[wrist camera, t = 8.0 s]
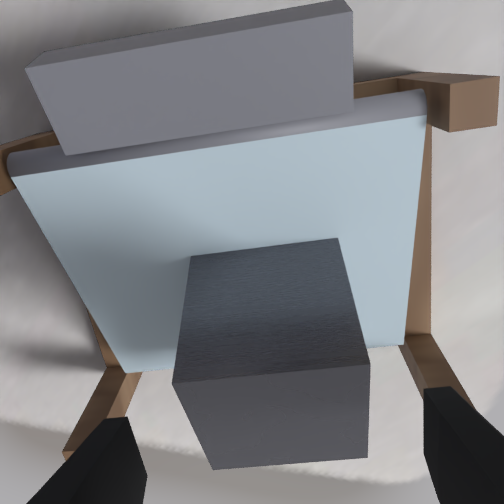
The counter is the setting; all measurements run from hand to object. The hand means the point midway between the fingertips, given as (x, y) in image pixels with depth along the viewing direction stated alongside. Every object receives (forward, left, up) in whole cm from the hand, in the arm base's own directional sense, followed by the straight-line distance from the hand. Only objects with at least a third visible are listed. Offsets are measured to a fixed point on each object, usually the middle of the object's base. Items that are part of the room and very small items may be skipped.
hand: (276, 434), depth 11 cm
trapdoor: (-1, +3, -7) cm, 7 cm away
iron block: (0, 0, -6) cm, 6 cm away
